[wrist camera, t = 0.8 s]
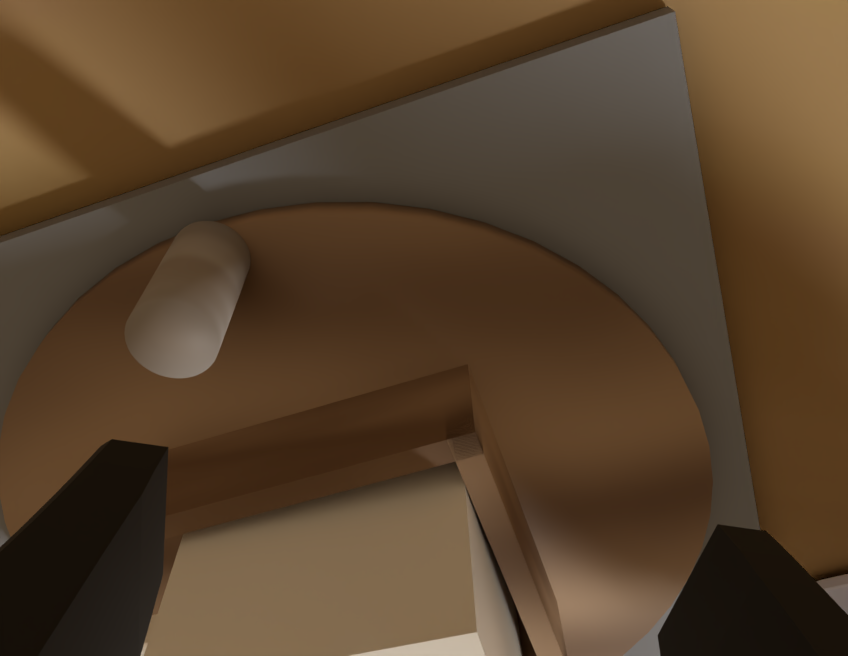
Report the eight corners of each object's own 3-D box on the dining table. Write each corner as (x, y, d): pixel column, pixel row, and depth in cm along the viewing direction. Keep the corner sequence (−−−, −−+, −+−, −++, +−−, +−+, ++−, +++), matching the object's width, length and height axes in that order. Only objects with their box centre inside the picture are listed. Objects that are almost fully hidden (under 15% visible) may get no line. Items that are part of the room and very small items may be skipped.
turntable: (745, 649, 24) (796, 774, 21) (209, 764, 27) (181, 890, 24) (628, 67, 15) (687, 130, 12) (-162, 332, 18) (-287, 440, 15)
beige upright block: (459, 414, 19) (476, 631, 14) (514, 593, 22) (544, 822, 17) (4, 514, 20) (-133, 744, 15) (118, 667, 24) (37, 899, 18)
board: (802, 807, 30) (814, 838, 29) (310, 897, 33) (307, 927, 32) (667, 6, 15) (684, 17, 14) (-205, 306, 18) (-238, 332, 17)
